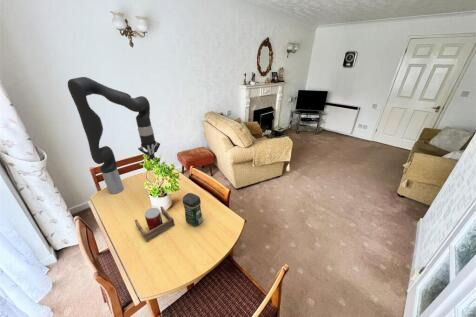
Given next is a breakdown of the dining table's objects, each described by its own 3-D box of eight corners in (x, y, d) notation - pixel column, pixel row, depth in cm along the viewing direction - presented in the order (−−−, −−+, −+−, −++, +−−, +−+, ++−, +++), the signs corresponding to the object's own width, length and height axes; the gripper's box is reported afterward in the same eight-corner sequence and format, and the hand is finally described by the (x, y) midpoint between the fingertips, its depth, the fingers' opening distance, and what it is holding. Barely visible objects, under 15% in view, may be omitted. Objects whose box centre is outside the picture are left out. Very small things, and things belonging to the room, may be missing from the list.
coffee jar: (183, 221, 115) (179, 197, 106) (192, 213, 121) (189, 189, 112) (195, 229, 110) (192, 203, 101) (205, 220, 116) (202, 195, 107)
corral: (136, 226, 111) (134, 220, 109) (163, 212, 121) (162, 206, 119) (146, 241, 103) (144, 235, 100) (174, 225, 112) (173, 219, 110)
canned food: (158, 233, 107) (154, 218, 102) (145, 230, 109) (141, 216, 104) (166, 222, 114) (162, 208, 109) (153, 220, 115) (149, 206, 110)
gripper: (154, 128, 119) (160, 153, 127) (131, 134, 111) (139, 160, 119) (160, 131, 114) (165, 157, 122) (136, 137, 106) (144, 165, 114)
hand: (152, 159), depth 121 cm, fingers closed
